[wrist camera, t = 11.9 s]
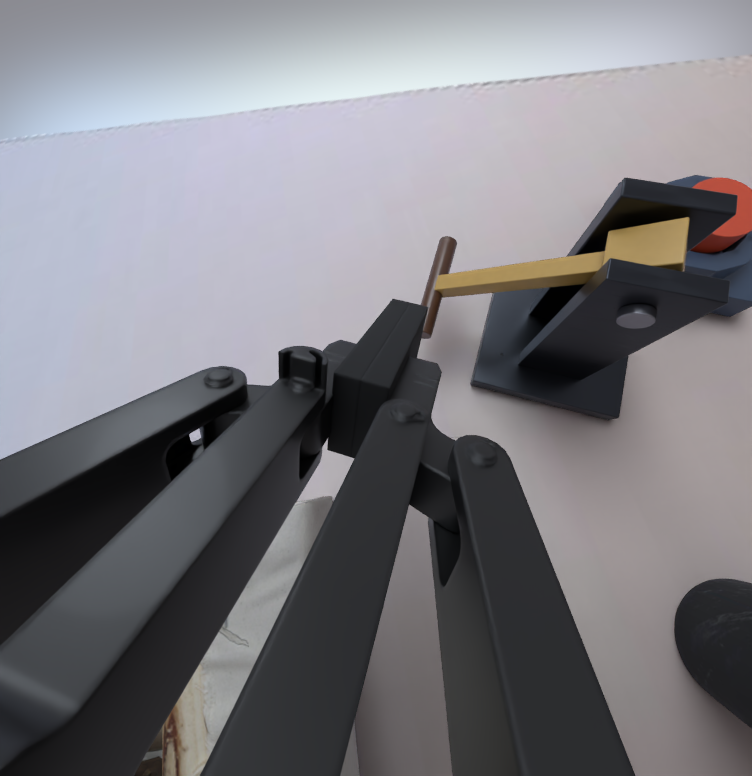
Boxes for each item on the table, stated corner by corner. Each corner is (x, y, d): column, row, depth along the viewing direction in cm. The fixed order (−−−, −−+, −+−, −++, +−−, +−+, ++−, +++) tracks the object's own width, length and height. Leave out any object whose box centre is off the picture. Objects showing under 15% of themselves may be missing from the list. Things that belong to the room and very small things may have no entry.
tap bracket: (469, 384, 26) (524, 308, 14) (495, 280, 28) (564, 129, 16) (609, 420, 25) (811, 370, 12) (627, 308, 26) (820, 164, 14)
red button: (739, 204, 24) (765, 183, 22) (734, 259, 23) (760, 242, 21) (670, 193, 24) (689, 172, 23) (662, 246, 24) (682, 229, 22)
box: (335, 485, 26) (-66, 550, 27) (305, 494, 18) (-248, 583, 19) (386, 892, 20) (-116, 946, 22) (375, 1146, 13) (-393, 1202, 14)
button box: (738, 225, 27) (793, 184, 23) (730, 317, 26) (787, 289, 22) (604, 203, 29) (634, 161, 25) (588, 288, 27) (618, 257, 23)
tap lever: (423, 343, 23) (404, 326, 22) (448, 254, 25) (432, 232, 23) (675, 344, 15) (677, 317, 13) (692, 208, 16) (696, 167, 15)
